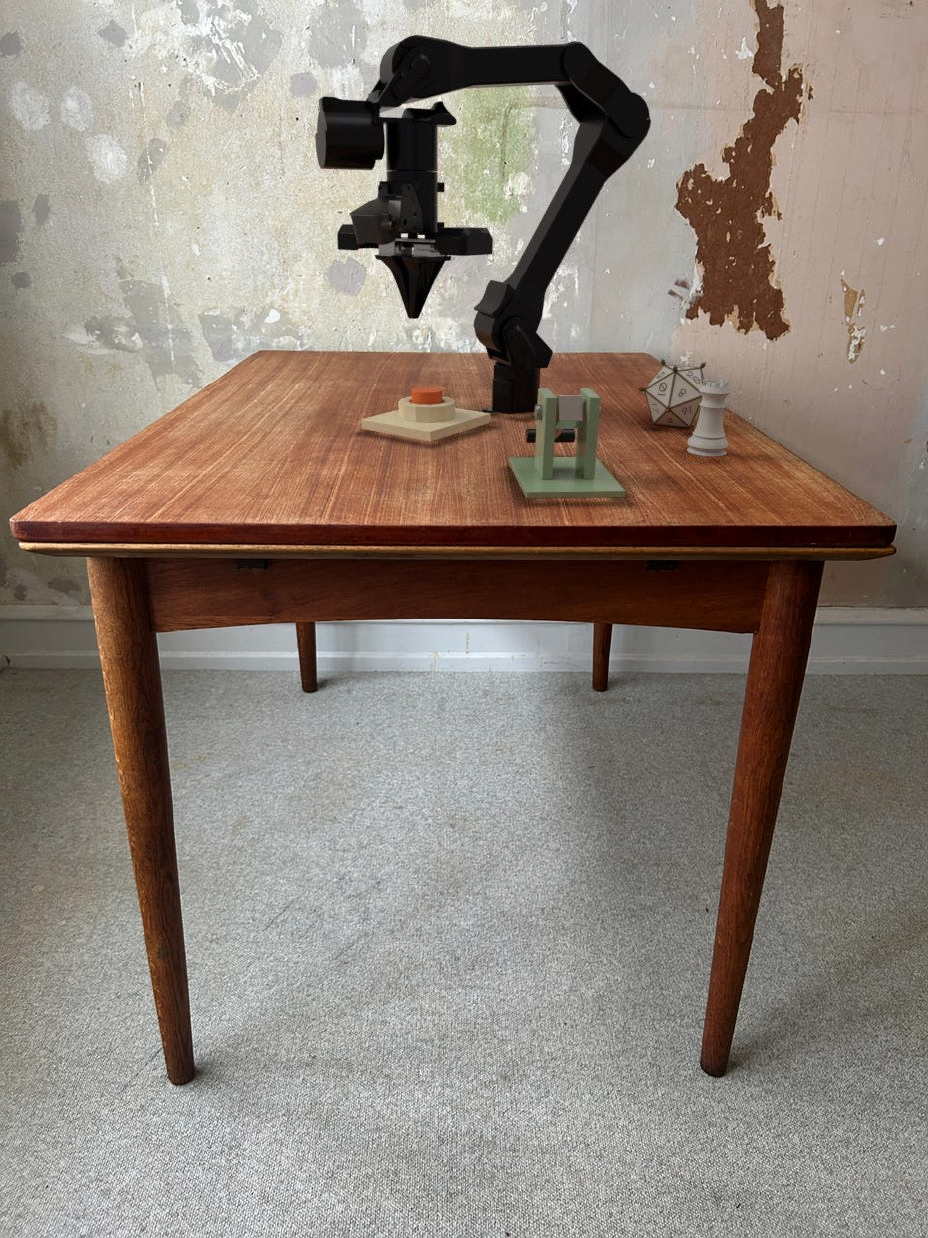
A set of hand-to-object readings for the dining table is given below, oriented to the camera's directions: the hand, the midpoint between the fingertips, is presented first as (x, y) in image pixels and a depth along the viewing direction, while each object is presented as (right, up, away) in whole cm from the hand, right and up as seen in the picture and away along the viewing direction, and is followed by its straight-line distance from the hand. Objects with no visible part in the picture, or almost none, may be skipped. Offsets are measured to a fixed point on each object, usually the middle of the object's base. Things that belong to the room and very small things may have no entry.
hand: (413, 318), depth 106 cm
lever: (+15, -18, -19) cm, 30 cm away
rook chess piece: (+32, -18, -10) cm, 38 cm away
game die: (+31, -13, +2) cm, 34 cm away
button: (+2, -11, -2) cm, 11 cm away
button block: (+2, -13, 0) cm, 14 cm away
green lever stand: (+16, -23, -20) cm, 34 cm away
